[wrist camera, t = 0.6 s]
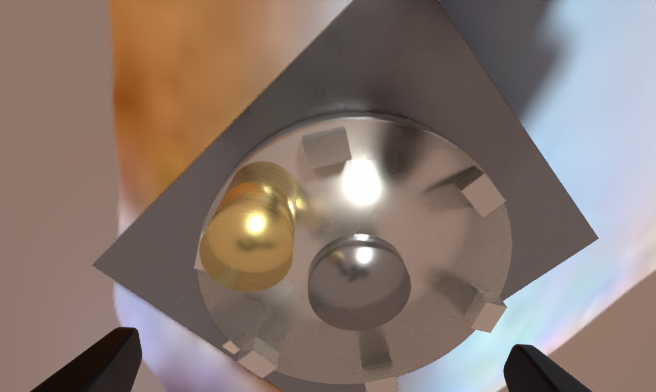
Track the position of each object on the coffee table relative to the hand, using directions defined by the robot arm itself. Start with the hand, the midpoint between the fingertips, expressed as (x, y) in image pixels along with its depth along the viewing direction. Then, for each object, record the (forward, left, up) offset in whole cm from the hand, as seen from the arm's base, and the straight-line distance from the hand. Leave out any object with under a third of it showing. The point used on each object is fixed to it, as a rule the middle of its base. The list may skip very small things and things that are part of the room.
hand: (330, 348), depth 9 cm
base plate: (+2, +5, -13) cm, 14 cm away
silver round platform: (+2, +5, -11) cm, 12 cm away
